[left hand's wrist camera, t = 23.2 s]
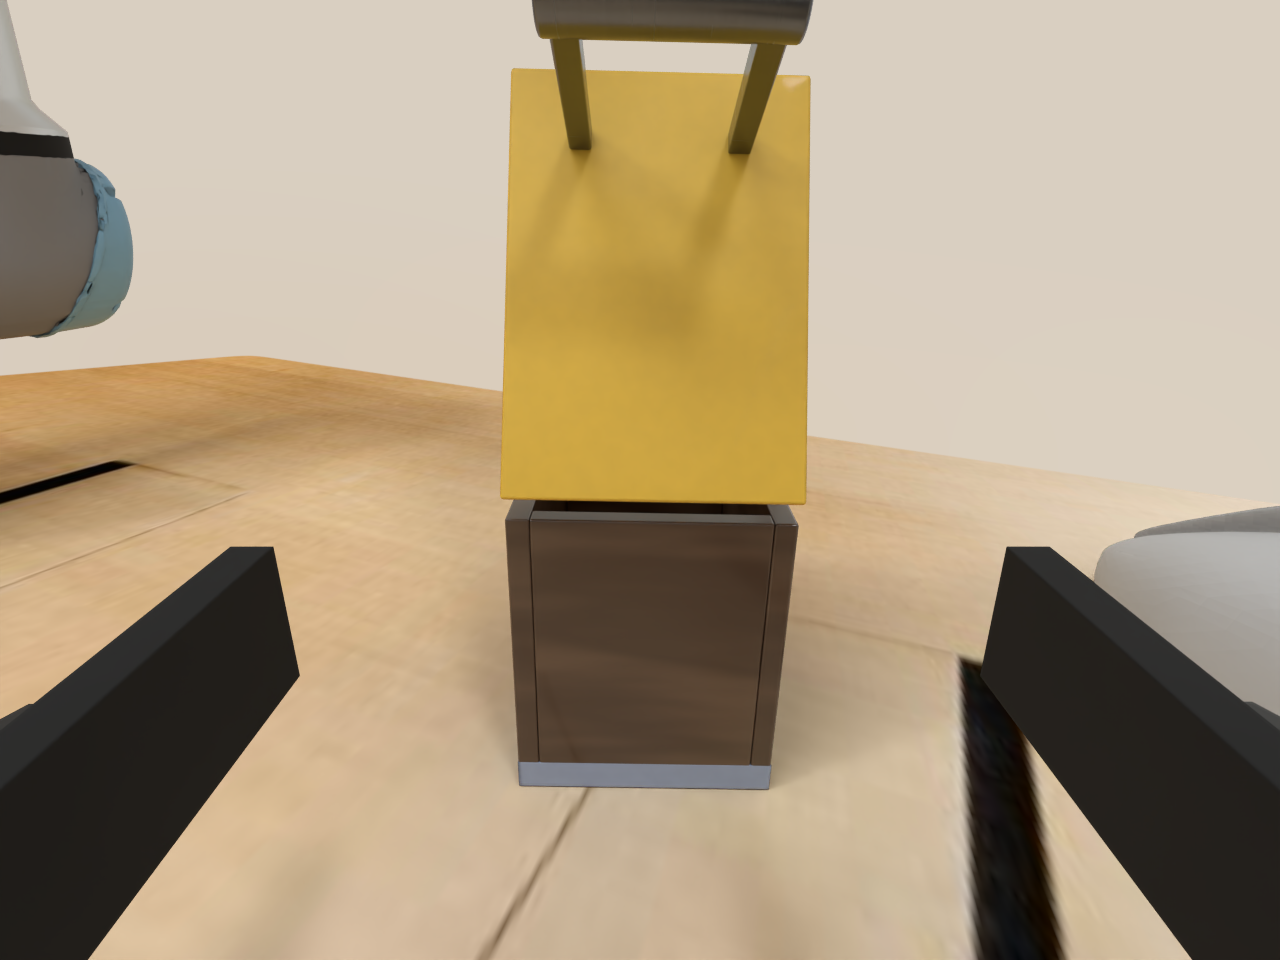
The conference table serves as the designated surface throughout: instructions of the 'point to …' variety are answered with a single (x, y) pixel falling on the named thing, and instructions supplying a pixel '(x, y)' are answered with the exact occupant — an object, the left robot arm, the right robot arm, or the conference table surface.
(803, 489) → the lid
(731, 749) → the chest
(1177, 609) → the projector
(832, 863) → the conference table surface
